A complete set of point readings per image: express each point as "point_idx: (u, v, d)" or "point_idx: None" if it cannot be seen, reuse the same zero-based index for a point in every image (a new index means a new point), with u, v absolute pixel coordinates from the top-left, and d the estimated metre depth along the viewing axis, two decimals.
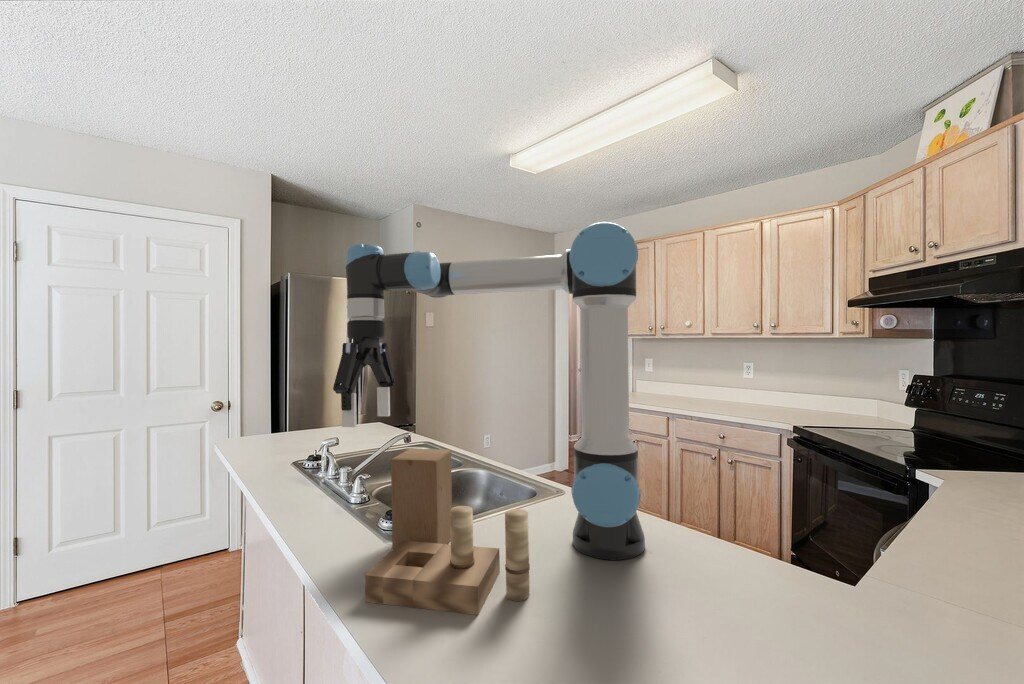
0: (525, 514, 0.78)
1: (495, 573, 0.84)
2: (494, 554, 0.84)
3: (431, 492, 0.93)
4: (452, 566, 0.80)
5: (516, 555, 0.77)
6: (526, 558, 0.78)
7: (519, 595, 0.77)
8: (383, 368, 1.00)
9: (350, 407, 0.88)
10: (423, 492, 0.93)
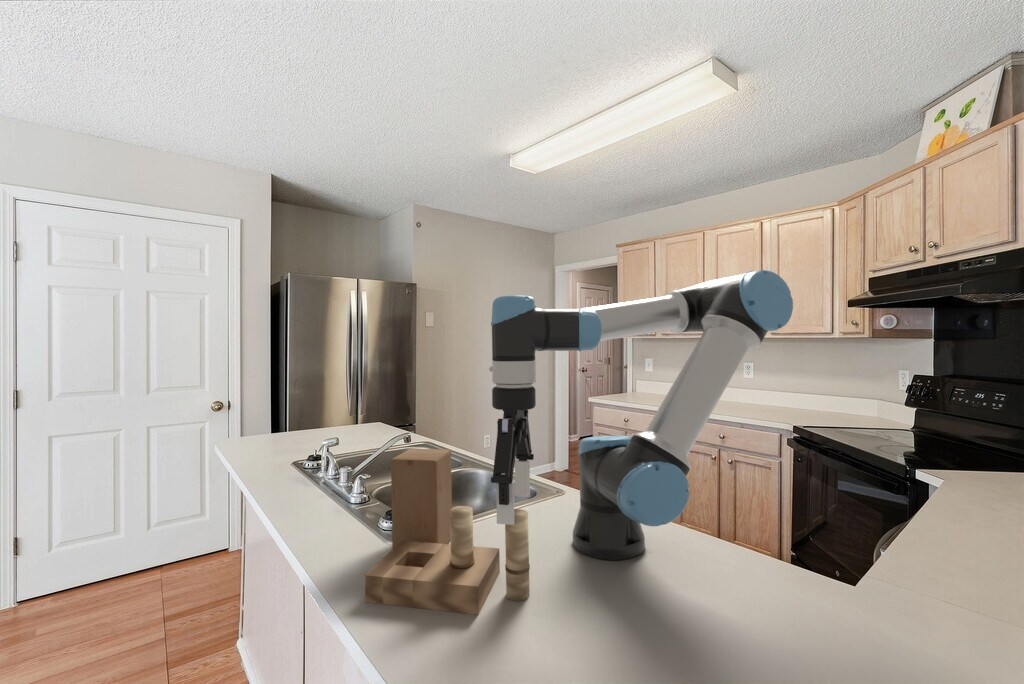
0: (525, 514, 0.78)
1: (495, 573, 0.84)
2: (494, 554, 0.84)
3: (431, 492, 0.93)
4: (452, 566, 0.80)
5: (516, 555, 0.77)
6: (526, 558, 0.78)
7: (519, 595, 0.77)
8: (526, 440, 0.83)
9: (509, 500, 0.72)
10: (423, 492, 0.93)
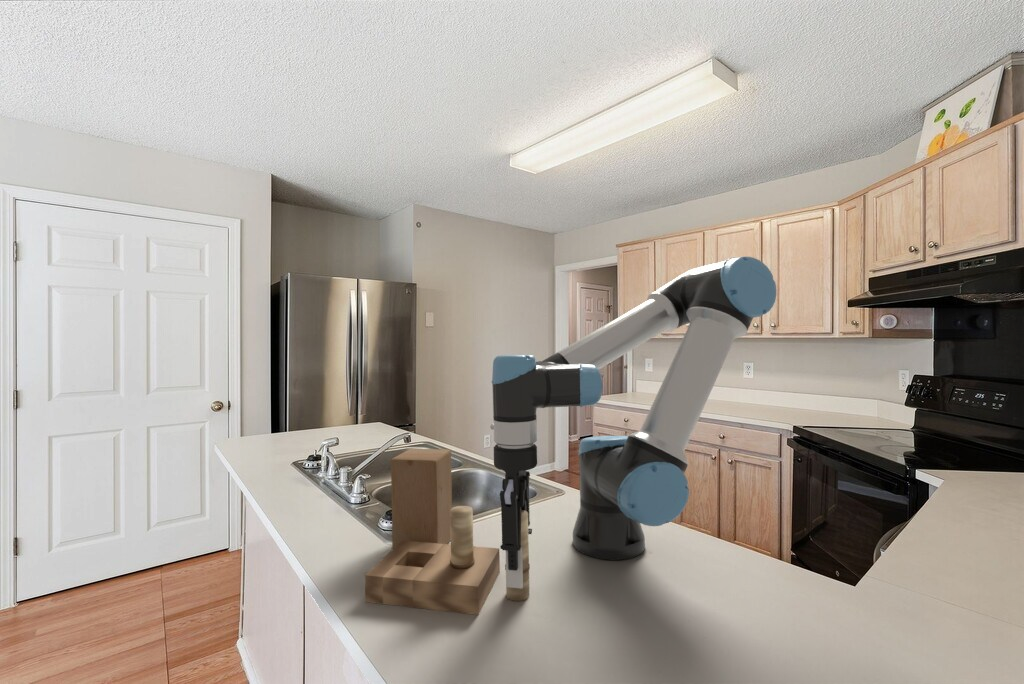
0: (525, 514, 0.78)
1: (495, 573, 0.84)
2: (494, 554, 0.84)
3: (431, 492, 0.93)
4: (452, 566, 0.80)
5: None
6: (526, 558, 0.78)
7: (519, 595, 0.77)
8: (525, 506, 0.81)
9: (517, 565, 0.76)
10: (423, 492, 0.93)
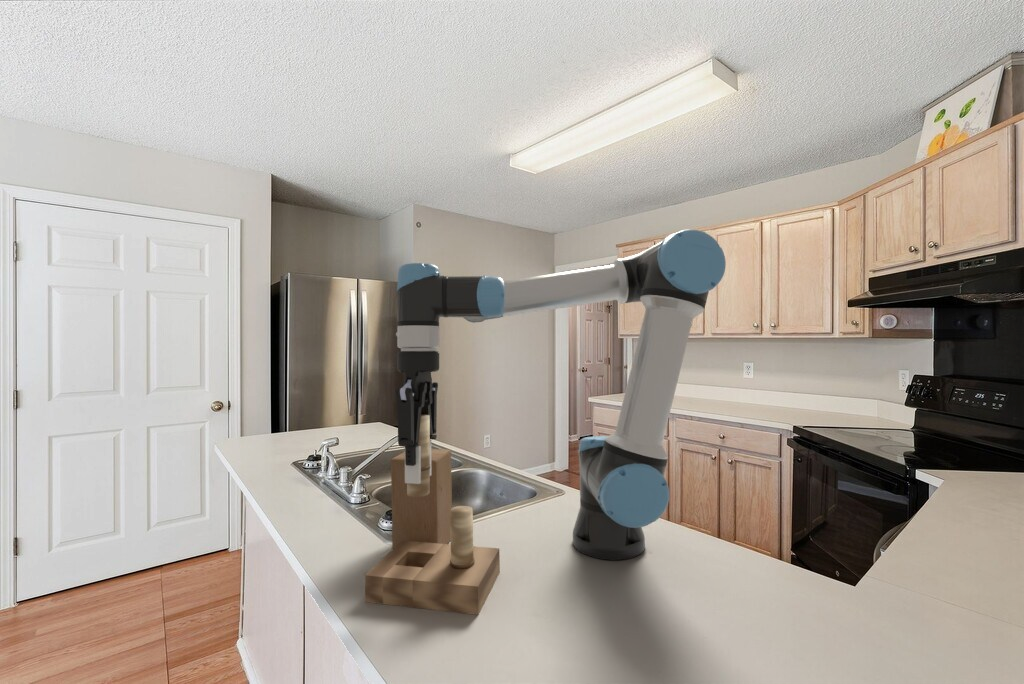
0: (426, 416, 0.82)
1: (495, 573, 0.84)
2: (494, 554, 0.84)
3: (431, 492, 0.93)
4: (452, 566, 0.80)
5: None
6: (425, 457, 0.81)
7: (417, 491, 0.81)
8: (429, 412, 0.85)
9: (415, 461, 0.80)
10: None
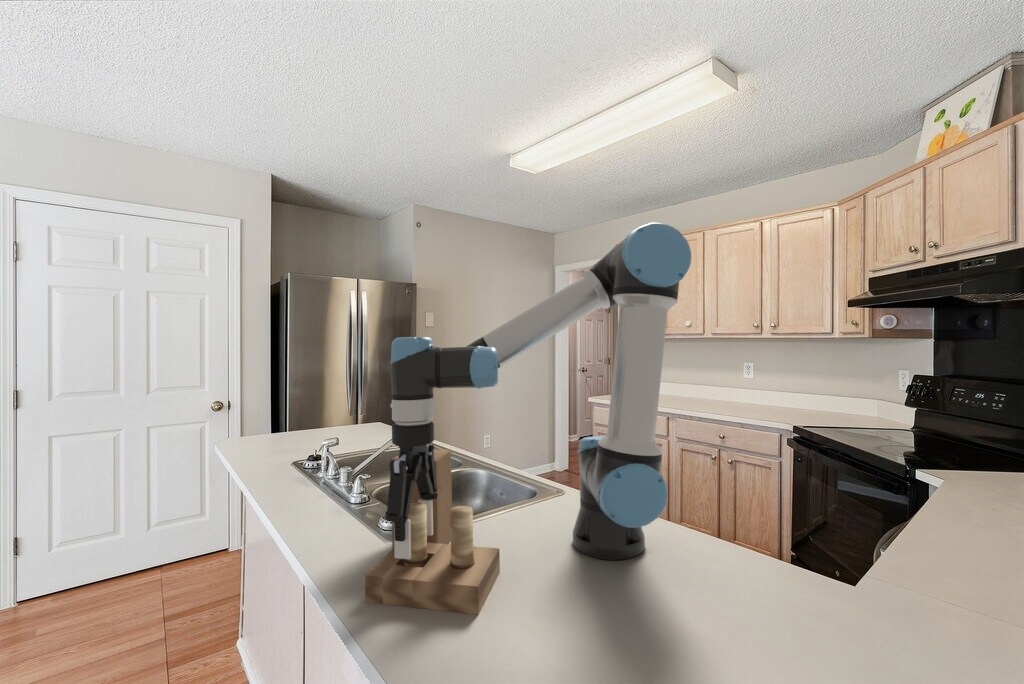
0: (423, 507, 0.83)
1: (495, 573, 0.84)
2: (494, 554, 0.84)
3: None
4: (452, 566, 0.80)
5: (412, 546, 0.81)
6: (422, 549, 0.82)
7: None
8: (428, 477, 0.87)
9: (404, 536, 0.78)
10: None
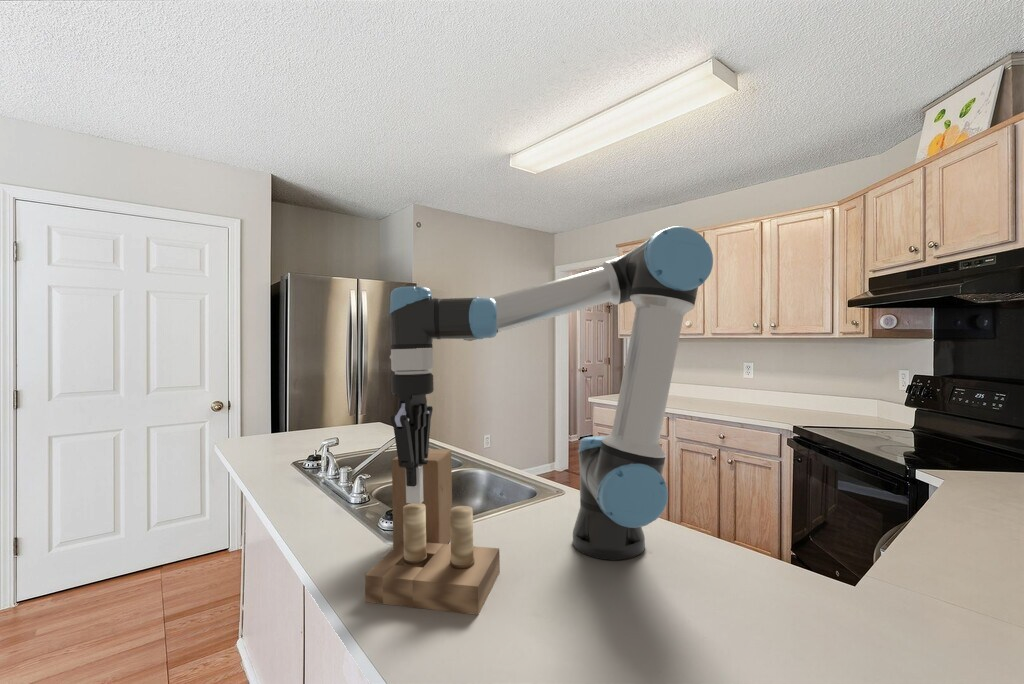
0: (422, 507, 0.82)
1: (495, 573, 0.84)
2: (494, 554, 0.84)
3: (433, 493, 0.93)
4: (452, 566, 0.80)
5: (412, 546, 0.81)
6: (422, 549, 0.82)
7: None
8: (422, 435, 0.84)
9: (416, 482, 0.82)
10: (425, 492, 0.93)
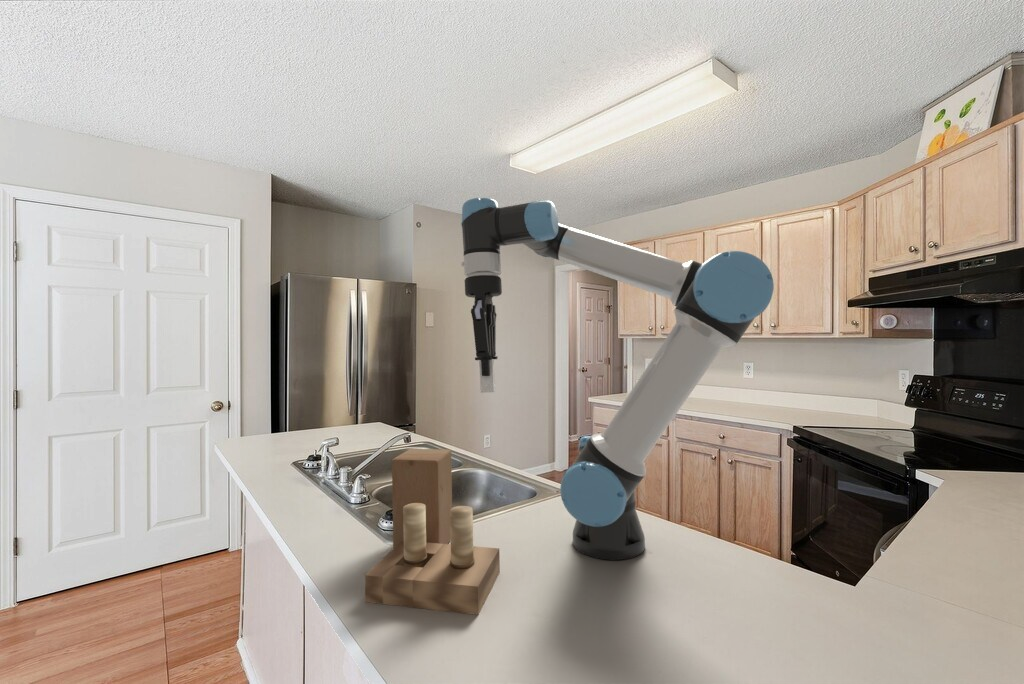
0: (422, 507, 0.82)
1: (495, 573, 0.84)
2: (494, 554, 0.84)
3: (433, 493, 0.93)
4: (452, 566, 0.80)
5: (412, 546, 0.81)
6: (422, 549, 0.82)
7: None
8: (492, 334, 0.94)
9: (489, 373, 0.92)
10: (425, 492, 0.93)
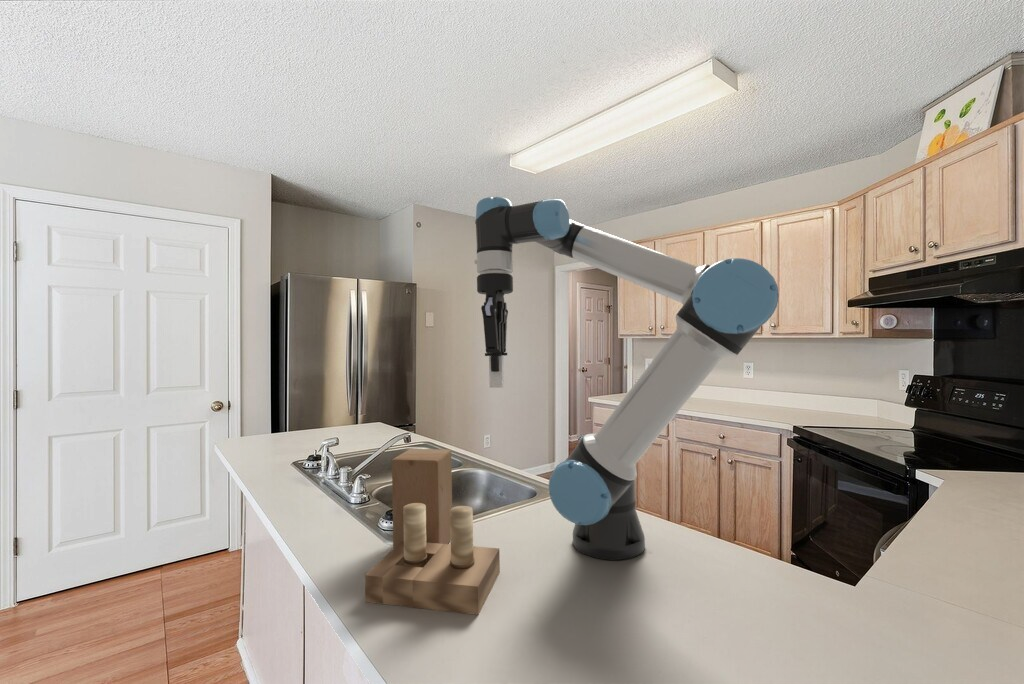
0: (422, 507, 0.82)
1: (495, 573, 0.84)
2: (494, 554, 0.84)
3: (433, 493, 0.93)
4: (452, 566, 0.80)
5: (412, 546, 0.81)
6: (422, 549, 0.82)
7: None
8: (502, 330, 0.96)
9: (498, 369, 0.94)
10: (425, 492, 0.93)
